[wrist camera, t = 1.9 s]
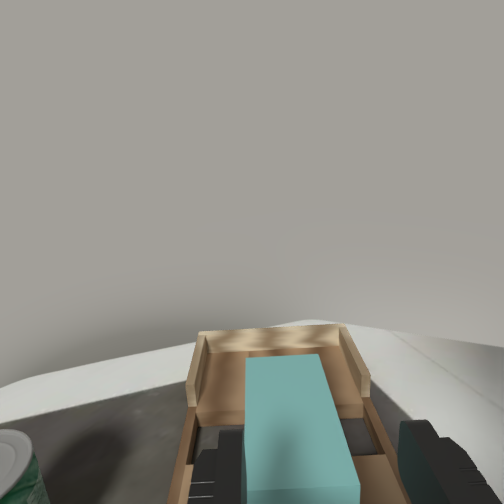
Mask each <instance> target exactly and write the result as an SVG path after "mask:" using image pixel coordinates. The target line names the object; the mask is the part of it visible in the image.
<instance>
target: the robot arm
mask: <svg viewBox="0 0 504 504" xmlns="http://www.w3.org/2000/svg"><path fill="white" fill-rule="evenodd" d="M397 462H398V470H399V474H400V478H401V481H402V483H403V485H404V488H405V490H406V492H407V494H408V497H409V499H410V501H411V503H412V504H502V503H501V501H500V500H499V499H498V497H497V496H496V494H495V493H494V491H493V490H492V488H491V487H490V486H489V485H487V482H486V480H485V478H484V477H483V475H482V474H481V473H480V471H478V470H477V467H476V465H475V464H474V462H473V461H472V460H471V458H470V457H469V455H468V454H467V452H466V451H465V450H464V449H463V448H461V447H460V446H459V445H458V444H456V443H455V442H454V441H453V440H452V439H450V438H449V437H444V438H439V436H438V434H437V433H436V431H435V430H434V428H433V427H432V425H431V423H430V422H429V421H428V420H408V421H401V423H400V430H399V444H398V457H397ZM187 504H247V472H246V458H245V445H244V433H243V429H230V430H220V432H219V440H218V449H207V450H202V452H201V454H200V455H199V457H198V458H197V460H196V462H195V463H194V465H193V471H192V477H191V485H190V489H189V495H188V501H187Z"/></svg>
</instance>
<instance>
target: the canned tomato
mask: <svg viewBox="0 0 504 504" xmlns="http://www.w3.org/2000/svg"><path fill="white" fill-rule="evenodd" d="M0 504H50V500H49V499H48V494H47V491H46V489H45V484H44V482H43V477H42V475H41V472H40V468H39V466H38V461H37V458H36V456H35V453H34V449H33V443H32V441H31V439H30V438H29V436H28V435H26V434H25V433H24V432H21V431H18V430H11V429H1V430H0Z"/></svg>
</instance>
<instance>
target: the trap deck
mask: <svg viewBox="0 0 504 504" xmlns="http://www.w3.org/2000/svg"><path fill="white" fill-rule="evenodd" d="M306 354H318V355H319V358H320V361H321V364H322V367H323V370H324V373H325V377H326V380H327V383H328V386H329V389H330V392H331V395H332V398H333V401H334V405H335V408H336V411H337V414H338V417H339V419H351V418H363V419H364V422H365V424H366V427H367V429H368V432H369V434H370V436H371V439H372V441H373V444H374V446H375V449H376V451H377V454H378V455H365V456H351V457H352V460H353V464H354V467H355V470H356V473H357V476H358V479H359V482H360V504H412V503H411V501H410V499H409V497H408V494H407V492H406V490H405V488H404V485H403V483H402V481H401V478H400V474H399V470H398V462H397V455H396V452H395V450H394V448H393V446H392V444H391V442H390V440H389V437H388V435H387V433H386V431H385V429H384V427H383V425H382V422H381V420H380V418H379V416H378V414H377V412H376V410H375V407H374V405H373V403H372V401H371V399H370V376H371V375H370V373H369V371H368V369H367V367H366V365H365V363H364V361H363V359H362V357H361V355H360V353H359V351H358V349H357V347H356V345H355V344H354V342H353V340H352V338H351V336H350V334H349V332H348V330H347V328H346V326H345V324H326V325H308V326H291V327H273V328H255V329H239V330H222V331H203V332H199V334H198V338H197V342H196V346H195V350H194V353H193V357H192V361H191V365H190V369H189V373H188V377H187V381H186V393H187V400H188V411H187V415H186V420H185V424H184V428H183V433H182V437H181V442H180V446H179V451H178V455H177V460H176V464H175V469H174V473H173V478H172V482H171V486H170V491H169V495H168V500H167V504H187V501H188V495H189V489H190V485H191V477H192V471H193V465H191V461H192V455H193V450H194V444H195V439H196V433H197V427H204V426H222V425H240V424H245V371H246V358H253V357H271V356H289V355H306Z"/></svg>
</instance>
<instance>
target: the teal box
mask: <svg viewBox="0 0 504 504" xmlns="http://www.w3.org/2000/svg"><path fill="white" fill-rule="evenodd" d="M244 445H245V458H246V472H247V504H360V482H359V479H358V476H357V473H356V470H355V467H354V464H353V460H352V457H351V454H350V451H349V448H348V445H347V442H346V439H345V436H344V432H343V429H342V426H341V423H340V420H339V417H338V414H337V411H336V408H335V405H334V401H333V398H332V395H331V392H330V389H329V386H328V383H327V380H326V377H325V373H324V370H323V367H322V364H321V361H320V358H319V355H318V354H306V355H289V356H271V357H253V358H246V371H245V444H244Z"/></svg>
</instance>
